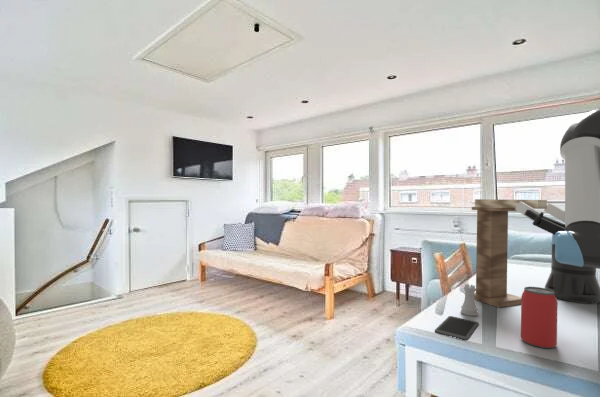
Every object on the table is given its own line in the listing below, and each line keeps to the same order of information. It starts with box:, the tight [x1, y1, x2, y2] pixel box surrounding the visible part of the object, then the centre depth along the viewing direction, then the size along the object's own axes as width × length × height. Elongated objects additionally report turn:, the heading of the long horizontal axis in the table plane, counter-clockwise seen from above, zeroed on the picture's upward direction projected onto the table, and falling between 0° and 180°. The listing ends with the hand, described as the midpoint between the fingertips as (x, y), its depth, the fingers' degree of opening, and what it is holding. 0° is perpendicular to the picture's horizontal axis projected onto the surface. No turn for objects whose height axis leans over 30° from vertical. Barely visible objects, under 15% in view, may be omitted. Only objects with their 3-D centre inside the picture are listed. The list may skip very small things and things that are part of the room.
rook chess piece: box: [460, 283, 479, 317], centre depth 92 cm, size 4×4×8 cm
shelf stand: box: [471, 206, 522, 309], centre depth 104 cm, size 10×12×30 cm
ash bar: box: [474, 198, 548, 210], centre depth 101 cm, size 20×4×2 cm, turn 24°
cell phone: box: [434, 315, 480, 341], centre depth 81 cm, size 7×14×1 cm, turn 141°
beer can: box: [520, 286, 559, 349], centre depth 73 cm, size 7×7×12 cm
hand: (532, 206), depth 95 cm, fingers open, 13 cm apart
